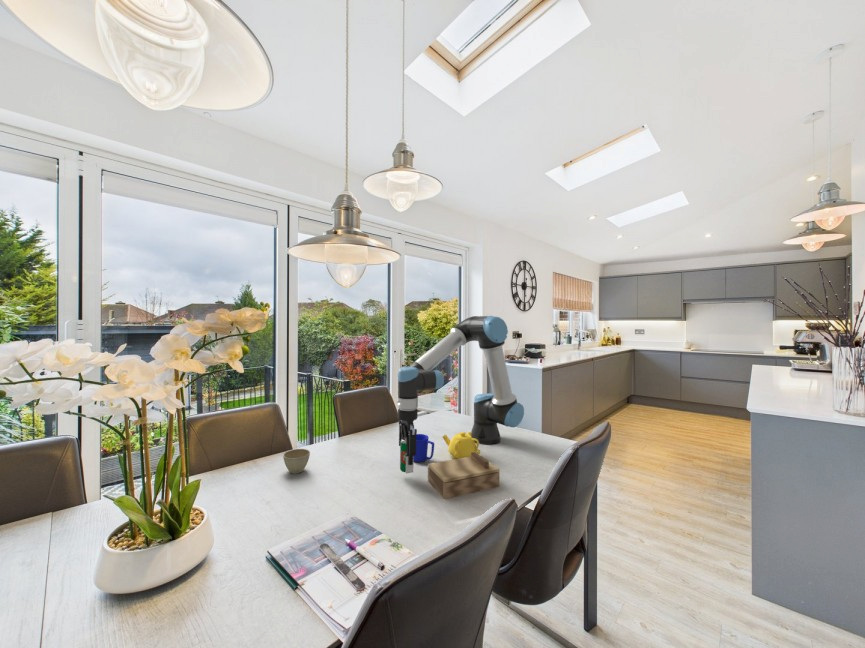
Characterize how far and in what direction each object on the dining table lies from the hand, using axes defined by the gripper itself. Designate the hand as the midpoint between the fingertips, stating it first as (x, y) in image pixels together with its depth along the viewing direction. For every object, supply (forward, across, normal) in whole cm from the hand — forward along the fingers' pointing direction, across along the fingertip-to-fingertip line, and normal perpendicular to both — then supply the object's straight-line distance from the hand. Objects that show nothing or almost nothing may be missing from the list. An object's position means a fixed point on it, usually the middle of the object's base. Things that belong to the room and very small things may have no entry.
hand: (406, 469), depth 134 cm
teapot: (+4, -12, +30) cm, 33 cm away
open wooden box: (+4, +13, +17) cm, 22 cm away
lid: (-3, +13, +17) cm, 22 cm away
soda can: (0, 0, 0) cm, 0 cm away
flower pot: (+4, -24, -38) cm, 45 cm away
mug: (+4, -14, +12) cm, 19 cm away
